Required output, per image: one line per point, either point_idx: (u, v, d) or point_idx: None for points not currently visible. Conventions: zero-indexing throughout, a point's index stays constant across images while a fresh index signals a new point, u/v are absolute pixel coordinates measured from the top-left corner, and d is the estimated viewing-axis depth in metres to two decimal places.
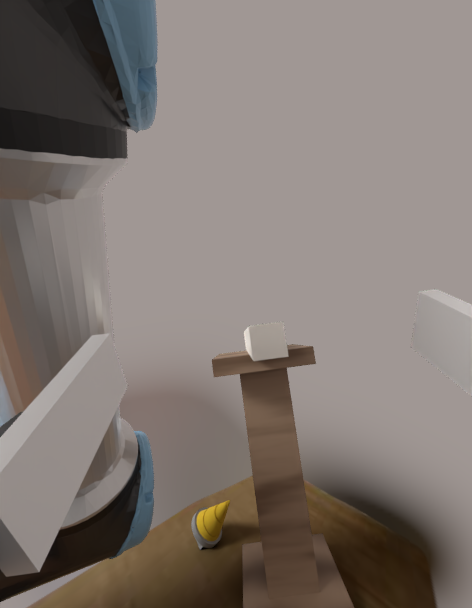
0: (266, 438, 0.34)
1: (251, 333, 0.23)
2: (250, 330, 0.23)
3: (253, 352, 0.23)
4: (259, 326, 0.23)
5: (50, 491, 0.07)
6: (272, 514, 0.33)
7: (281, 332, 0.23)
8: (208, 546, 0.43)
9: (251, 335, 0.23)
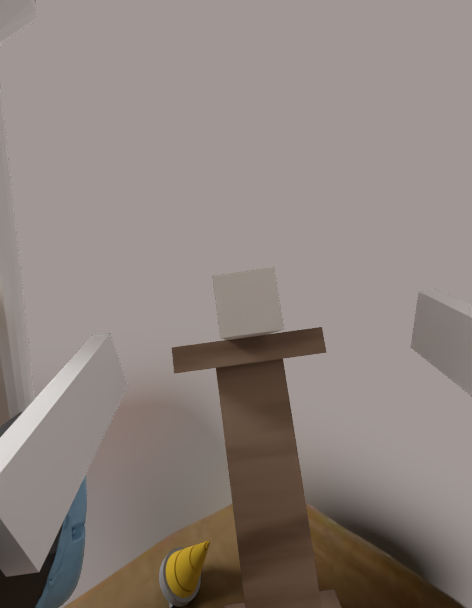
0: (255, 462, 0.23)
1: (217, 288, 0.13)
2: (215, 283, 0.13)
3: (220, 322, 0.13)
4: (231, 276, 0.13)
5: (50, 491, 0.07)
6: (263, 578, 0.22)
7: (271, 286, 0.13)
8: (180, 604, 0.32)
9: (217, 292, 0.13)
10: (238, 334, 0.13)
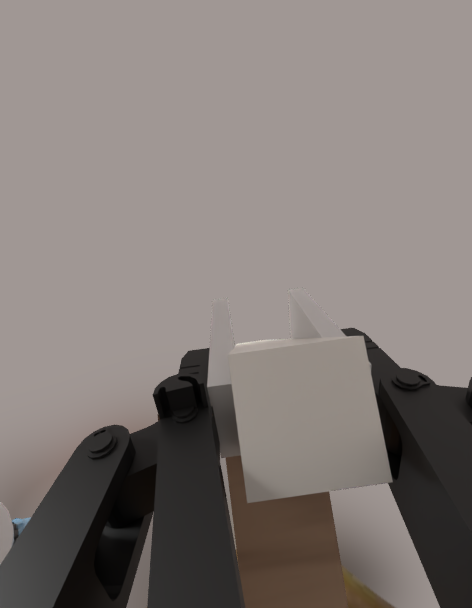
0: (279, 573, 0.16)
1: (238, 384, 0.06)
2: (234, 372, 0.06)
3: (246, 464, 0.06)
4: (270, 356, 0.06)
5: None
6: None
7: (358, 379, 0.06)
8: None
9: (238, 392, 0.06)
10: (288, 493, 0.06)
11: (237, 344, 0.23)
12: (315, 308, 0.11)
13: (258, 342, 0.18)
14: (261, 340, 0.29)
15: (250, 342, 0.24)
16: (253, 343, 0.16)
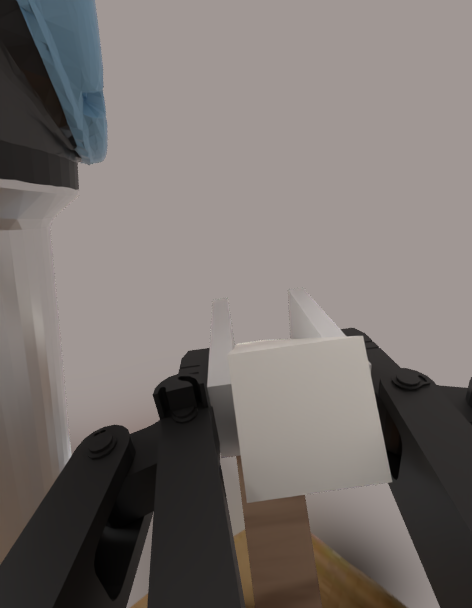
0: (270, 529, 0.26)
1: (238, 384, 0.06)
2: (234, 372, 0.06)
3: (246, 464, 0.06)
4: (269, 356, 0.06)
5: None
6: None
7: (357, 379, 0.06)
8: None
9: (238, 392, 0.06)
10: (288, 493, 0.06)
11: (237, 344, 0.23)
12: (315, 308, 0.11)
13: (258, 342, 0.18)
14: (261, 340, 0.29)
15: (250, 342, 0.24)
16: (253, 343, 0.16)
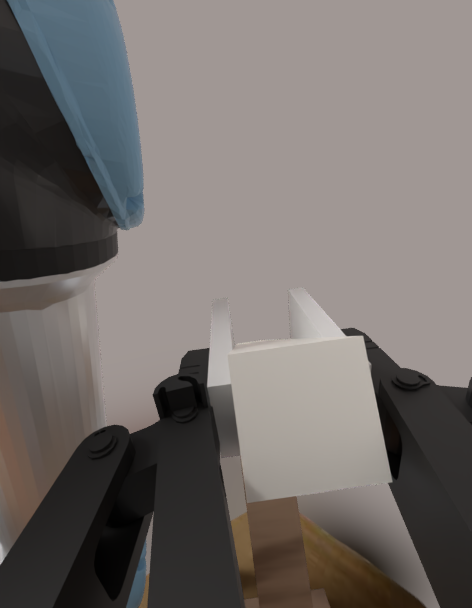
0: None
1: (238, 384, 0.06)
2: (234, 372, 0.06)
3: (246, 464, 0.06)
4: (269, 356, 0.06)
5: None
6: (271, 581, 0.31)
7: (358, 379, 0.06)
8: None
9: (238, 392, 0.06)
10: (288, 493, 0.06)
11: (237, 344, 0.23)
12: (315, 308, 0.11)
13: (258, 342, 0.18)
14: (261, 340, 0.29)
15: (250, 342, 0.24)
16: (253, 343, 0.16)
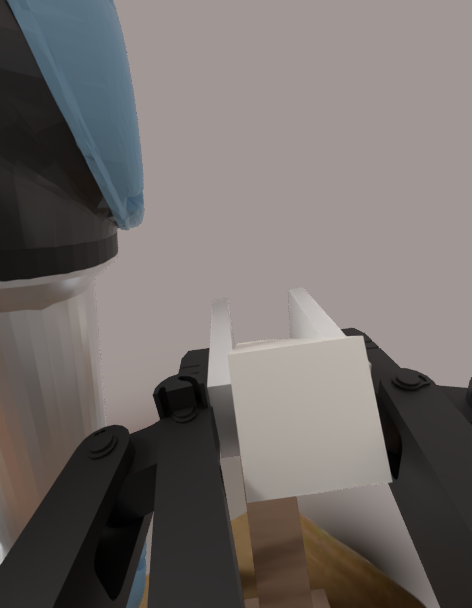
0: None
1: (238, 384, 0.06)
2: (234, 372, 0.06)
3: (246, 464, 0.06)
4: (269, 356, 0.06)
5: None
6: (271, 581, 0.31)
7: (358, 379, 0.06)
8: None
9: (238, 392, 0.06)
10: (288, 493, 0.06)
11: (237, 344, 0.23)
12: (315, 308, 0.11)
13: (258, 342, 0.18)
14: (261, 340, 0.29)
15: (250, 342, 0.24)
16: (253, 343, 0.16)
